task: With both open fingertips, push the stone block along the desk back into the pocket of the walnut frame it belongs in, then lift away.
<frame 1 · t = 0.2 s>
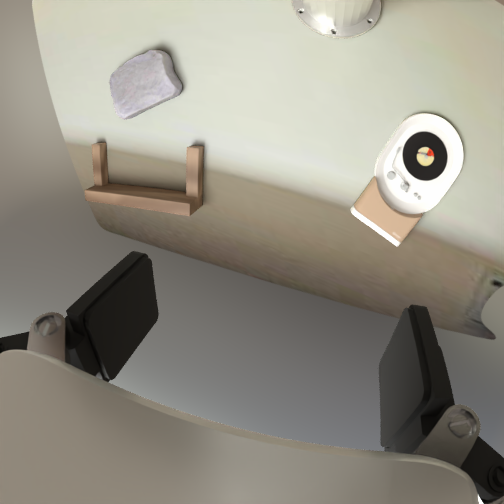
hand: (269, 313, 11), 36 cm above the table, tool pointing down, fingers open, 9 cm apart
walnut frame: (145, 159, 49), on the table
record player: (411, 173, 40), on the table
stone block: (148, 81, 43), on the table
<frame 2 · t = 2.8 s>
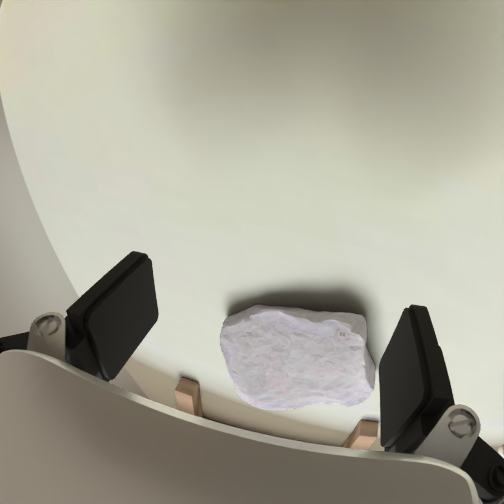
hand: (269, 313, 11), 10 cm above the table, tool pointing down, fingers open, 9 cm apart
walnut frame: (275, 418, 31), on the table
stone block: (300, 339, 25), on the table
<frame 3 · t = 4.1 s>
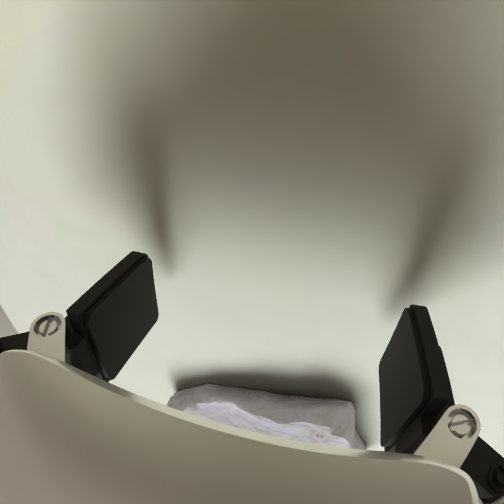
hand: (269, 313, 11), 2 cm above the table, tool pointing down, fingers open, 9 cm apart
stone block: (270, 418, 18), on the table
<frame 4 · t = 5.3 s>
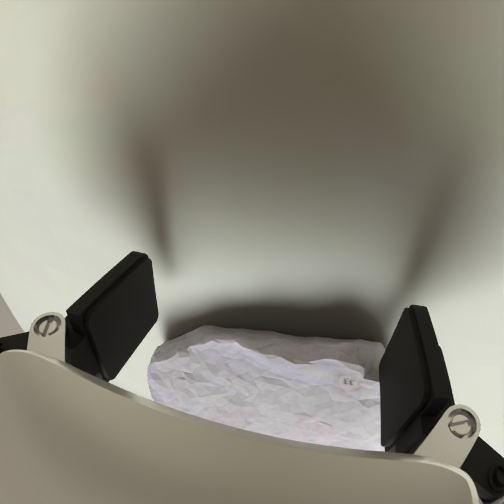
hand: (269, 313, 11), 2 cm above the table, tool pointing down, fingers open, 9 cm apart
stone block: (279, 377, 15), on the table, touching gripper
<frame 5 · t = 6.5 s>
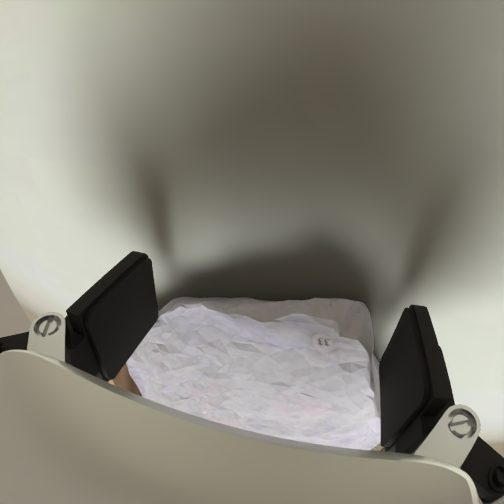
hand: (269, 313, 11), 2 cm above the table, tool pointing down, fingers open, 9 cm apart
walnut frame: (260, 421, 17), on the table
stone block: (263, 352, 15), on the table
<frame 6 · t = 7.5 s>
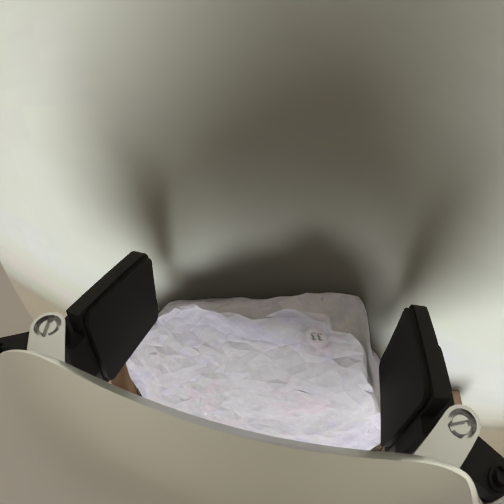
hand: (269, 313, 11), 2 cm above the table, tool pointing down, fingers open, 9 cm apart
walnut frame: (261, 398, 16), on the table
stone block: (263, 352, 15), on the table
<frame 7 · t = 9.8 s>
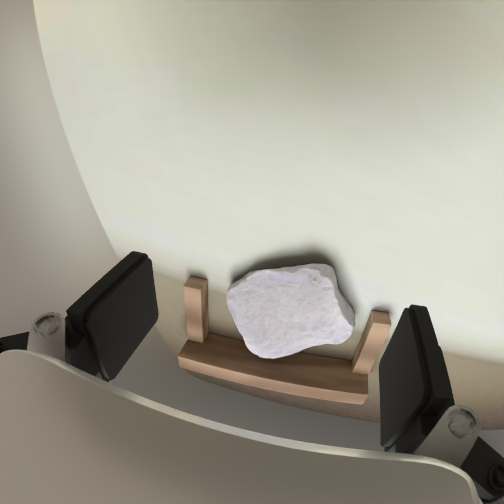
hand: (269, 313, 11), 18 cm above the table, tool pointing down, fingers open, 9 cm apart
walnut frame: (285, 317, 33), on the table
stone block: (290, 296, 32), on the table
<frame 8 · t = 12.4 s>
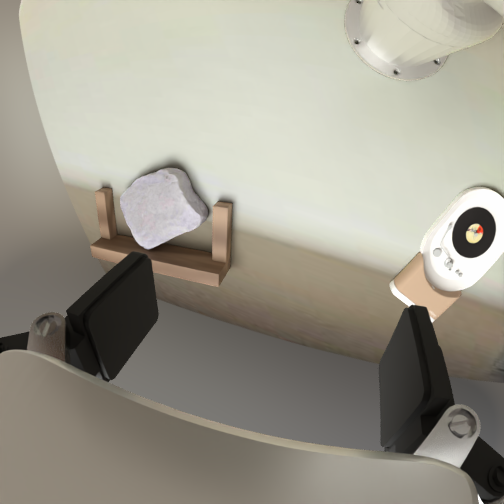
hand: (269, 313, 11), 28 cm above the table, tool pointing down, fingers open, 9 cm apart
walnut frame: (160, 213, 43), on the table
record player: (456, 248, 35), on the table
stone block: (165, 201, 43), on the table
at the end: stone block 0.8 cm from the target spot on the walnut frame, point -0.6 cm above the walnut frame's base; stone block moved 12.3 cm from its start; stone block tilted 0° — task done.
